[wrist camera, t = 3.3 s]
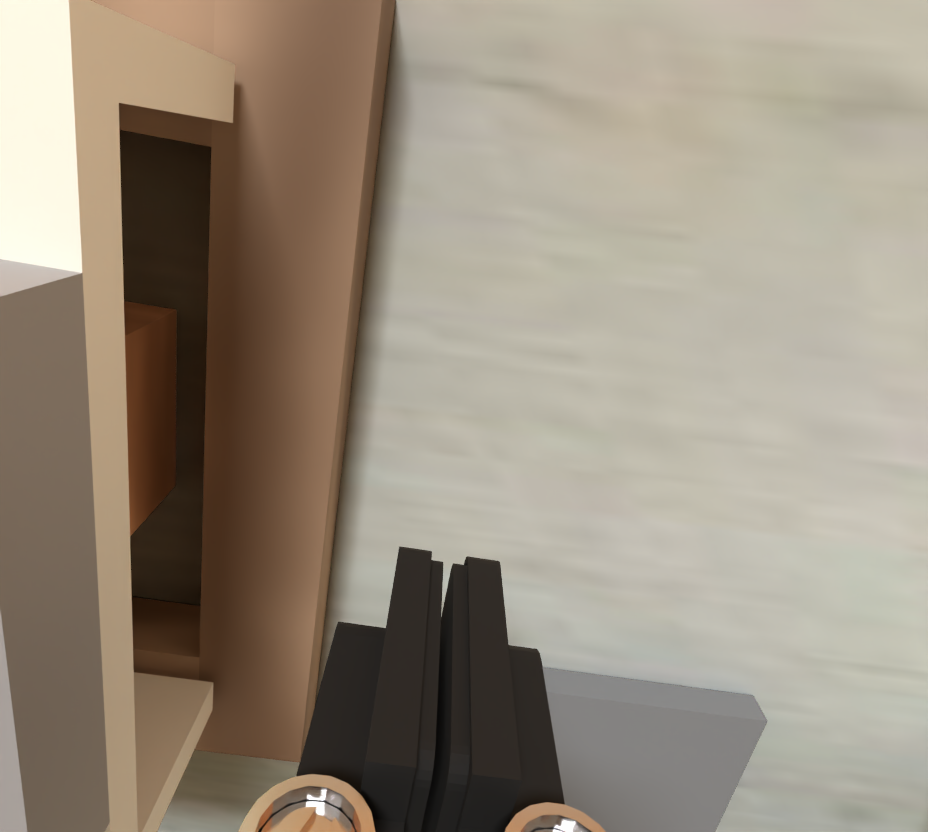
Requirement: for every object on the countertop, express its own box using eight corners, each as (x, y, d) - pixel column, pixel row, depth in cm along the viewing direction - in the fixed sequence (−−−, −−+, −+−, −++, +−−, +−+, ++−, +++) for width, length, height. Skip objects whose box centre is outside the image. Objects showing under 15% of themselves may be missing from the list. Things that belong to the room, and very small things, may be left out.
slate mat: (664, 892, 24) (672, 921, 23) (404, 863, 23) (402, 892, 22) (753, 695, 20) (767, 720, 19) (448, 655, 20) (448, 679, 19)
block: (176, 309, 16) (20, 389, 10) (176, 484, 18) (43, 633, 12) (-31, 274, 15) (-311, 337, 10) (-10, 457, 17) (-237, 597, 12)
